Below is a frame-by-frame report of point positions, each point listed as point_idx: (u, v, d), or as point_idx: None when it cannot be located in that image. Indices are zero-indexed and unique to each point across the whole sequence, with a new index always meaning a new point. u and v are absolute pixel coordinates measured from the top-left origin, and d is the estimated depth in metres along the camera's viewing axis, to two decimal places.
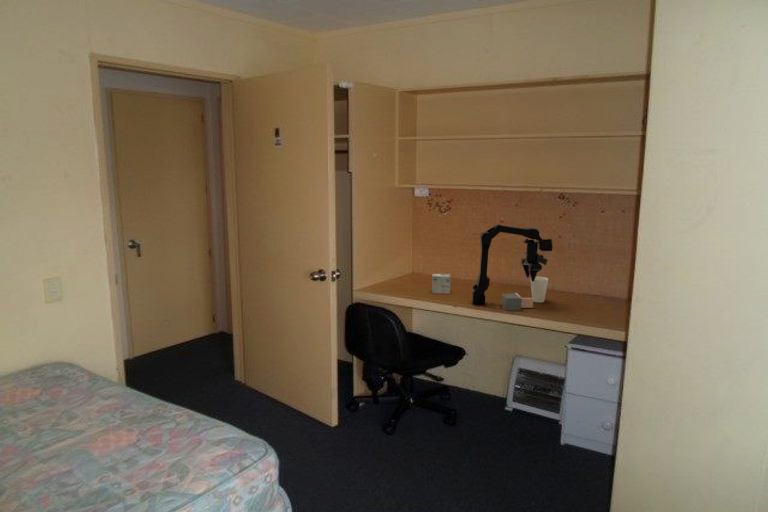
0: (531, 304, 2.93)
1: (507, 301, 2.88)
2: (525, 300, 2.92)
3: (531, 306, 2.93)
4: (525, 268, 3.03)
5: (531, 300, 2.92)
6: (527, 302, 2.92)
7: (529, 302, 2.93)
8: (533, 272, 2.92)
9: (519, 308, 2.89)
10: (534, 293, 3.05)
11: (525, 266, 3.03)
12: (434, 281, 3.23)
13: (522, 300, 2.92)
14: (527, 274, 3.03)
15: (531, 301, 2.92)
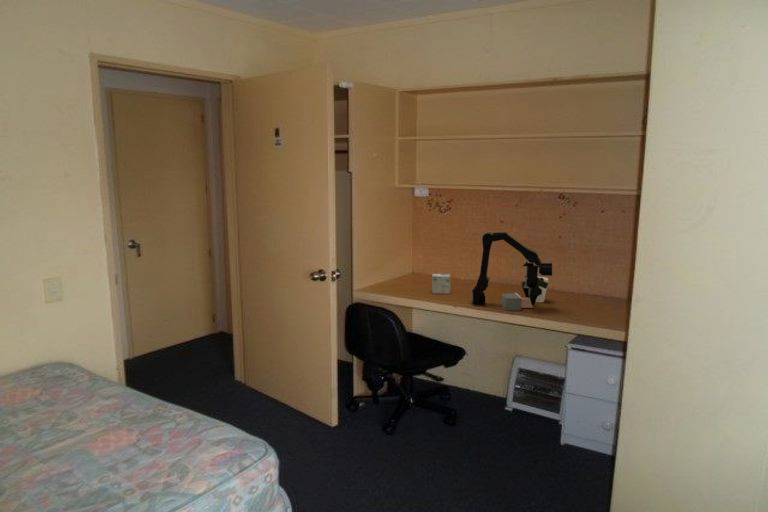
0: (531, 304, 2.93)
1: (507, 301, 2.88)
2: (525, 300, 2.92)
3: (531, 306, 2.93)
4: (525, 292, 2.97)
5: None
6: (527, 302, 2.92)
7: (529, 302, 2.93)
8: (533, 296, 2.87)
9: (519, 308, 2.89)
10: None
11: (525, 289, 2.97)
12: (434, 281, 3.23)
13: (522, 300, 2.92)
14: (527, 297, 2.98)
15: None
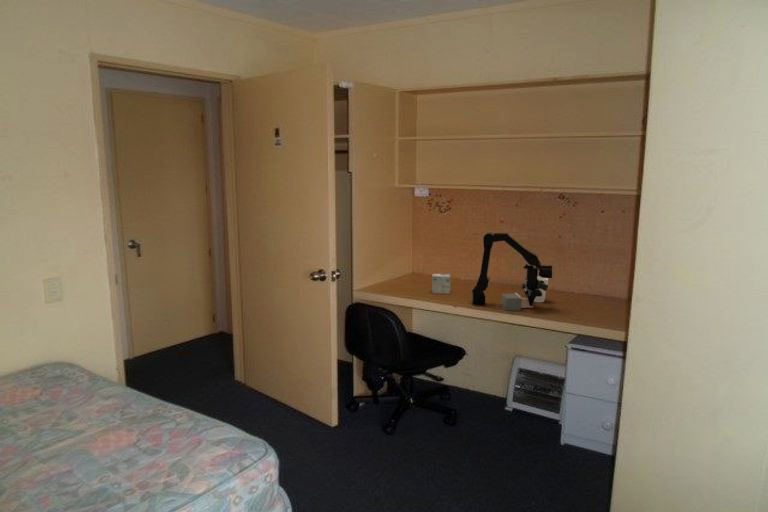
0: None
1: (507, 301, 2.88)
2: (525, 300, 2.92)
3: (531, 306, 2.93)
4: None
5: None
6: (527, 302, 2.92)
7: None
8: (531, 297, 2.91)
9: (519, 308, 2.89)
10: None
11: (527, 293, 2.94)
12: (434, 281, 3.23)
13: (522, 300, 2.92)
14: None
15: None
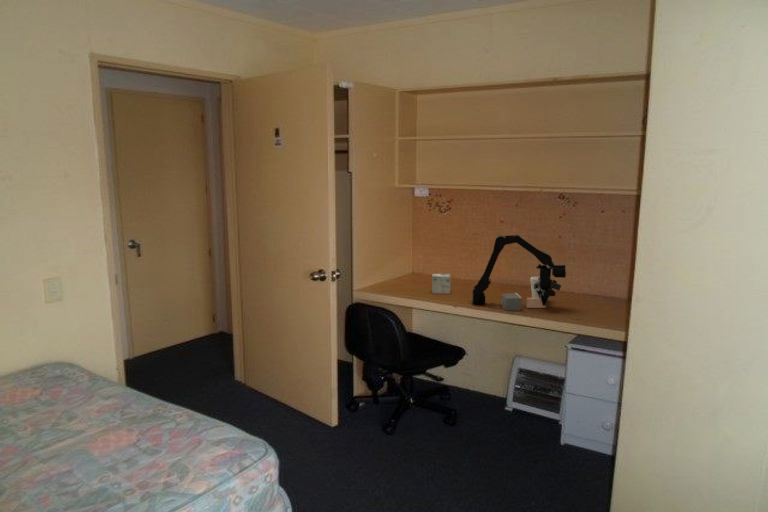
0: None
1: (507, 301, 2.88)
2: (538, 300, 2.92)
3: (544, 306, 2.93)
4: None
5: None
6: (540, 302, 2.93)
7: None
8: (544, 297, 2.91)
9: (519, 308, 2.89)
10: (534, 293, 3.05)
11: (540, 293, 2.94)
12: (434, 281, 3.23)
13: (535, 300, 2.92)
14: None
15: None
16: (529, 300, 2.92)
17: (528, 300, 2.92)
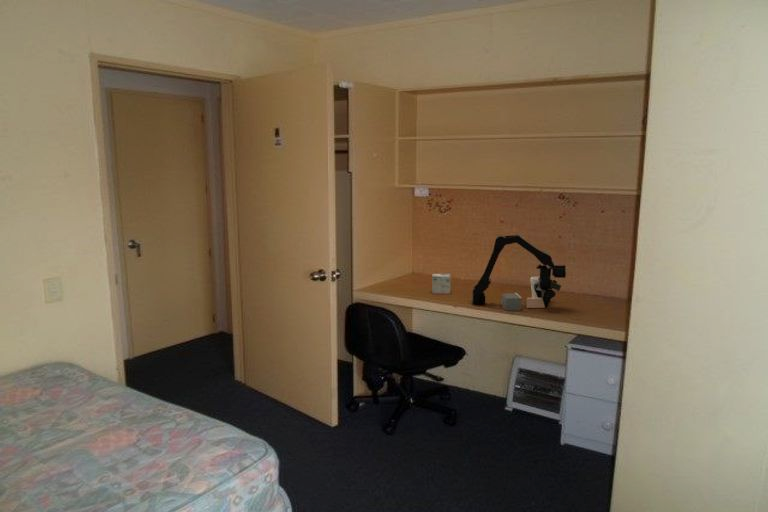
0: None
1: (507, 301, 2.88)
2: (538, 300, 2.92)
3: (544, 306, 2.93)
4: (538, 294, 2.98)
5: None
6: (540, 302, 2.93)
7: (542, 302, 2.93)
8: (546, 298, 2.87)
9: (519, 308, 2.89)
10: (534, 293, 3.05)
11: (538, 291, 2.98)
12: (434, 281, 3.23)
13: (535, 300, 2.92)
14: None
15: None
16: (529, 300, 2.92)
17: (528, 300, 2.92)
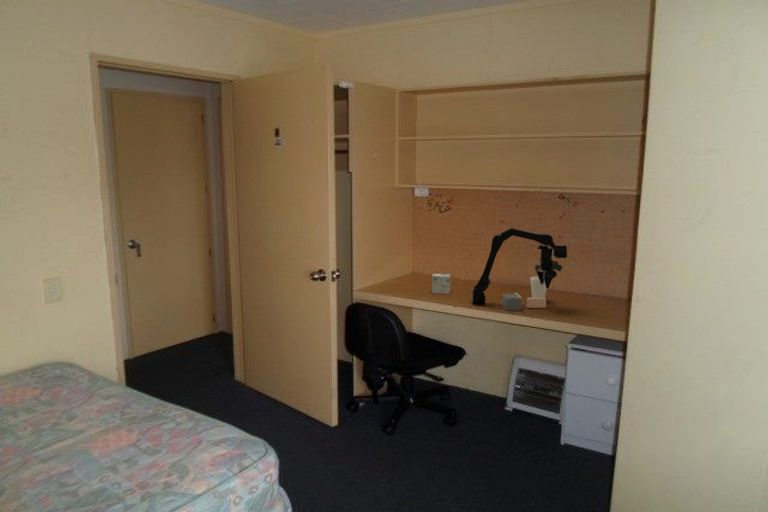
0: (544, 304, 2.93)
1: (507, 301, 2.88)
2: (538, 300, 2.92)
3: (544, 306, 2.93)
4: (539, 275, 2.96)
5: (544, 300, 2.93)
6: (540, 302, 2.93)
7: (542, 302, 2.93)
8: (547, 279, 2.85)
9: (519, 308, 2.89)
10: (534, 293, 3.05)
11: (539, 273, 2.96)
12: (434, 281, 3.23)
13: (535, 300, 2.92)
14: (541, 281, 2.96)
15: (544, 301, 2.93)
16: (529, 300, 2.92)
17: (528, 300, 2.92)
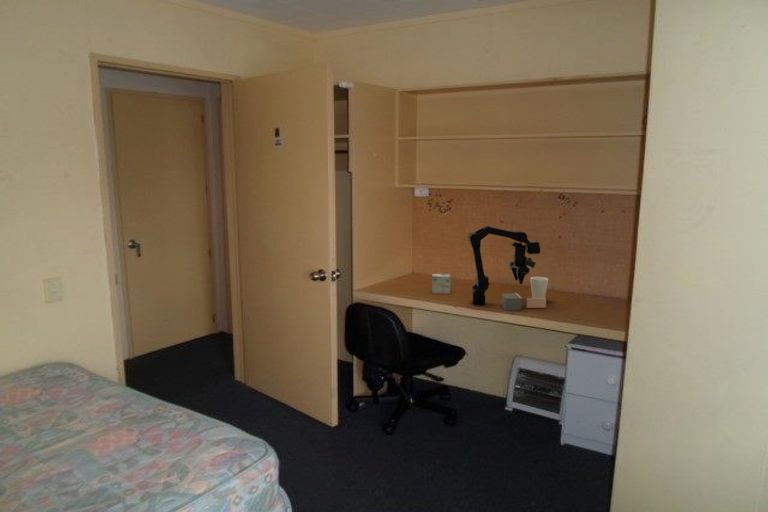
0: (544, 304, 2.93)
1: (507, 301, 2.88)
2: (538, 300, 2.92)
3: (544, 306, 2.93)
4: (514, 271, 3.04)
5: (544, 300, 2.93)
6: (540, 302, 2.93)
7: (542, 302, 2.93)
8: (521, 275, 2.94)
9: (519, 308, 2.89)
10: (534, 293, 3.05)
11: (513, 269, 3.04)
12: (434, 281, 3.23)
13: (535, 300, 2.92)
14: (516, 277, 3.05)
15: (544, 301, 2.93)
16: (529, 300, 2.92)
17: (528, 300, 2.92)
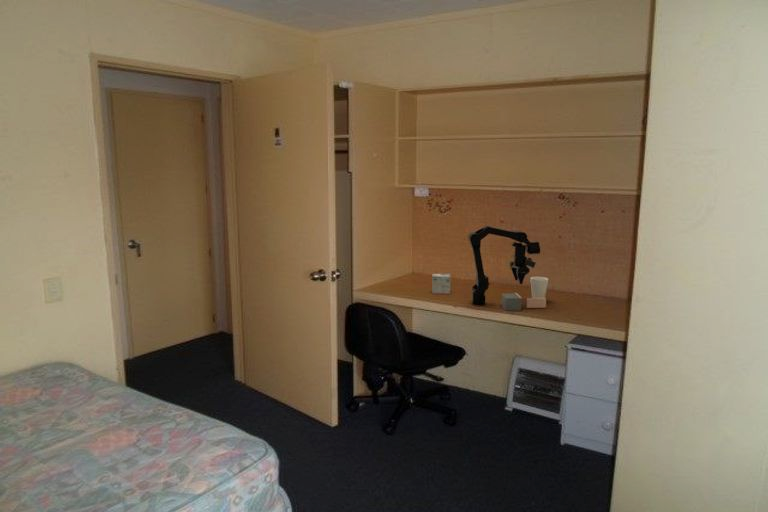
0: (544, 304, 2.93)
1: (507, 301, 2.88)
2: (538, 300, 2.92)
3: (544, 306, 2.93)
4: (514, 271, 3.04)
5: (544, 300, 2.93)
6: (540, 302, 2.93)
7: (542, 302, 2.93)
8: (521, 275, 2.94)
9: (519, 308, 2.89)
10: (534, 293, 3.05)
11: (513, 269, 3.04)
12: (434, 281, 3.23)
13: (535, 300, 2.92)
14: (516, 277, 3.05)
15: (544, 301, 2.93)
16: (529, 300, 2.92)
17: (528, 300, 2.92)
